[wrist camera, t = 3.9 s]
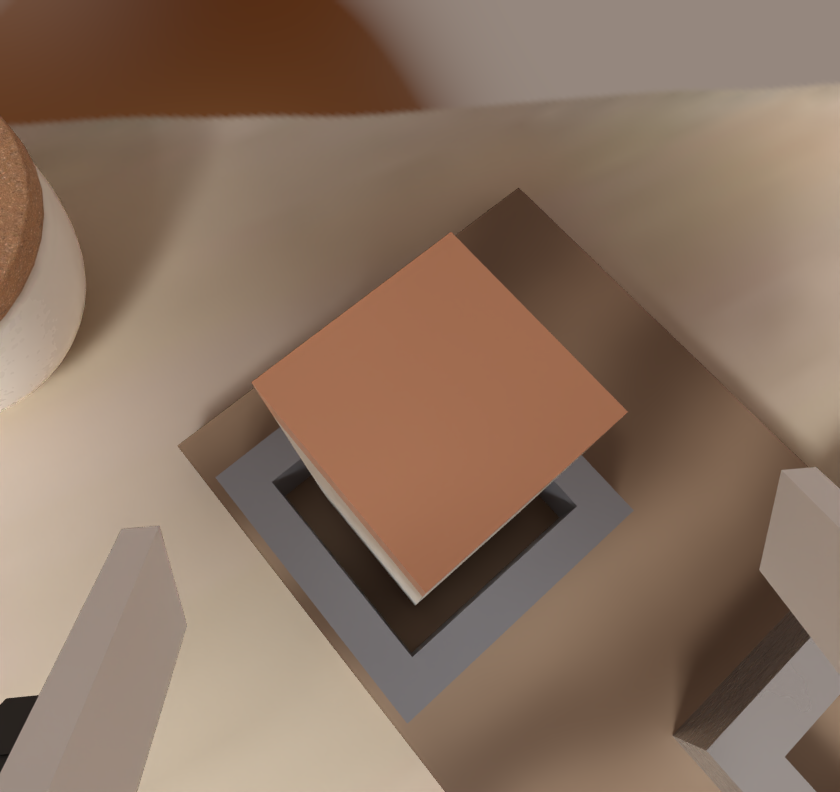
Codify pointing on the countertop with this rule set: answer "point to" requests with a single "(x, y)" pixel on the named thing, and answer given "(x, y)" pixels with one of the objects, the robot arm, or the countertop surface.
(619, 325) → the walnut board
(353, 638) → the frame
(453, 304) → the plug
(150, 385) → the countertop surface
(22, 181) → the lidded jar
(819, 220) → the countertop surface
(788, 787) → the port
